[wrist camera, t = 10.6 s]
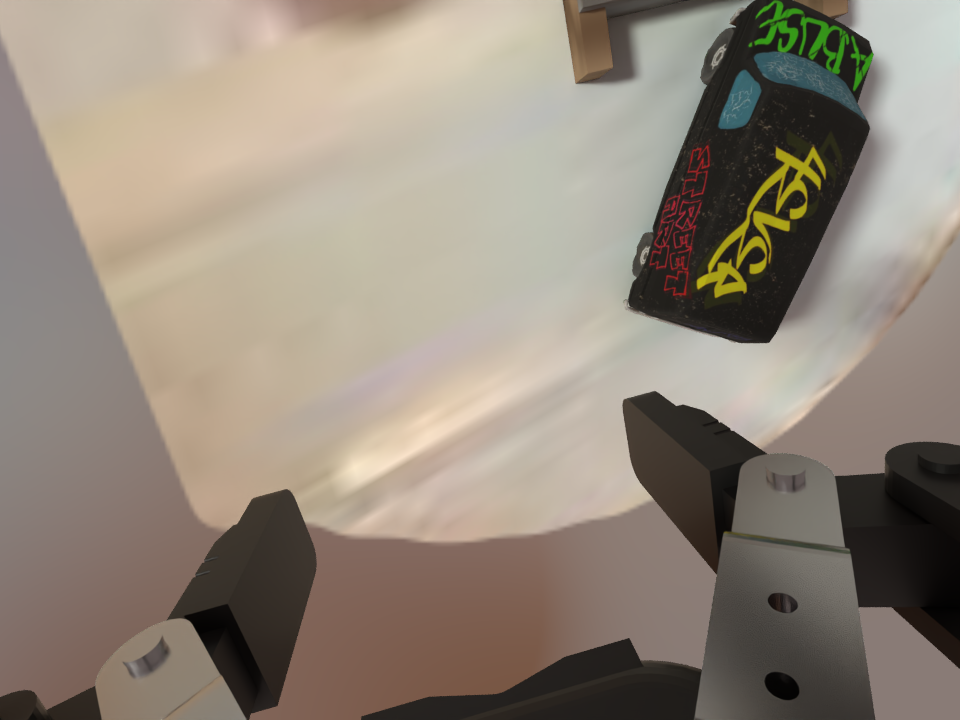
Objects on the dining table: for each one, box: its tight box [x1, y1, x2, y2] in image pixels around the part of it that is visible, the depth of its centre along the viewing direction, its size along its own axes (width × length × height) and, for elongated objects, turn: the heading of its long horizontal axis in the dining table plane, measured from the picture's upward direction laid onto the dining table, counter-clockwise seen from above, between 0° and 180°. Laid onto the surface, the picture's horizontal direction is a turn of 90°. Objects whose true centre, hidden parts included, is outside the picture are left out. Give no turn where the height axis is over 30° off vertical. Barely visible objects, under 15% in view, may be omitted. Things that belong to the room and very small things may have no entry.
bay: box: [563, 0, 848, 83], centre depth 38 cm, size 6×21×4 cm, turn 103°
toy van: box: [623, 0, 874, 343], centre depth 39 cm, size 11×25×10 cm, turn 163°
